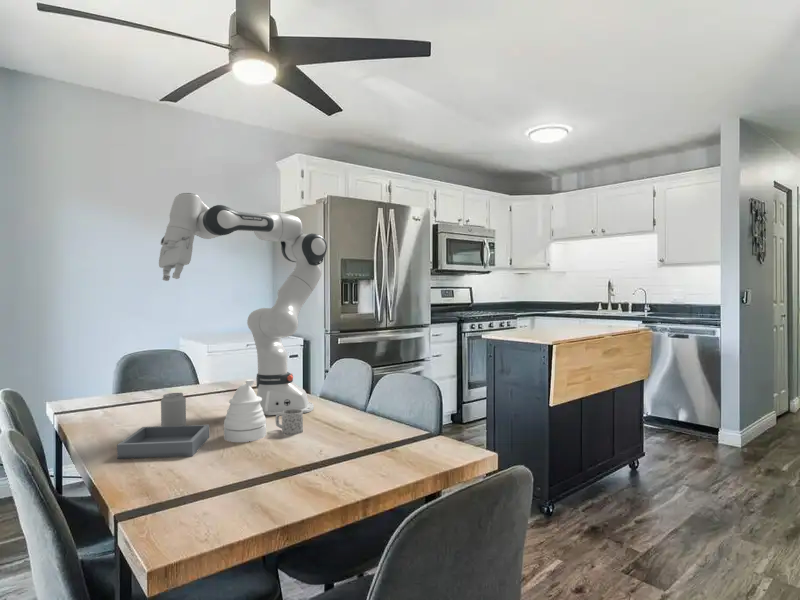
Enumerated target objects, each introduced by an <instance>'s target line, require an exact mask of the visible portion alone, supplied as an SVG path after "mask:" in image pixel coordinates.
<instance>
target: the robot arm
mask: <svg viewBox="0 0 800 600" xmlns="http://www.w3.org/2000/svg"><path fill="white" fill-rule="evenodd" d="M165 230H166V231H165V233H164V236H163V237H162V238H161V240H160V245H161V248H160V251H159V258H158V266H159V267H158V268H161V269H162V280H163V281H164V282H169V280H170V279H171V271H172V269H174V271H173V273H172V278H173V279H175V280H178V279H180V276H181V273H182V271H183V270H184V267H185V266H187V265H189V264H190V263H191V261H192V254H193V249H194V248H193V245H194V240H195V236H196V237H199V238H201V239H205V240H211V239H215V238H218V237H222V236H227V235H230V234H231V233H232V234H233V233H234V232H235V231H236V232H237V231H238V232H239V231H240V232H241V231H242V232H253V233H254V235H255V237H256V238H258V239H259V240H261V241H267V242H280V245H281V254H282V256H283V257H284V259H286V260H287V261H288V262H292V263H295V268H294V269H293V271H292V272H291V273H290V274H289V276H288V277H287V279H285V281H284V282H283V284H282V285H281V286H280V287H279V289H278V291H277V299H276V301H275V304H274V305H273V306H272V307H261V308H258V309H255V310H252V311H251V312H250V314H249V315H248V317H247V320H246V321H247V322H246V324H247V327H248V329H249V330H250V332H251V334H252V337H253V340H254V345H255V348H256V349H255V350H256V355H257V356H256V357H257V373H256V380H255V382H256V388H257V392H256V396H259V397H261V398H262V401H261V402H260V405H261V407H262V409H263V410H262V411H263V412H264V416H276V414H277V413H280V412H282V411H284V410H289V409H300V410H302V411H303V414H305V413H310V412H312V411H313V410H314V408H315V406H314V403H313V402H311V401H310V402H309V399H308V395H307V392H306V390H305V389H304V388H302V387H300V385H297V384H296V383H295V382H294V375H293V373H290V372H289V371H288V352H287V350H286V348H285V347H284V345H283V342H282V339H285V338H288V337H291V336H294V334H296V332H297V330H298V327H299V320H298V318H299V314H300V312H301V310H302V308H303V305H304V304H305V303H306V301H307V300H308V299H309V298H310V296H311V294H313V291H315V288H316V287H317V285H318V284H319V282H320V279H321V277H322V268H321V267H320V266H319V265H321V264H322V263H323V261H324V258H325V256H326V255H327V251H328V244H327V241H326V239H325V238H324V237H323V236H322V235H320V234H317V233H305V232H304V231H303V223H302V221H301V219H300V217H298V216H297V215H293V214H290V213H284V212H275V211H273V212H272V211H267V212H259V213H254V212H253V213H252V212H243V211H242V212H241V211H236V210H234V209H232V208H231V207H229V206H226V205H223V204H217V205H213V206H212V207H208V206H207V204H205V203H204V201H203V200H202V199H201V197H200V196H199V195H198V194H196V193H191V192H182V193H179V194H177V195H176V196H174V199H173V201H172V205H171V207H170V213H169V221H168V224H167V226H166V229H165Z"/></svg>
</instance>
